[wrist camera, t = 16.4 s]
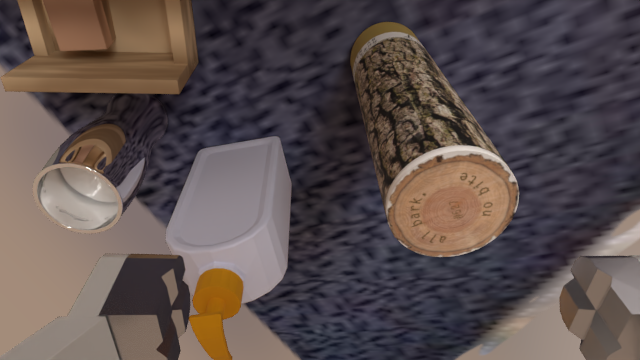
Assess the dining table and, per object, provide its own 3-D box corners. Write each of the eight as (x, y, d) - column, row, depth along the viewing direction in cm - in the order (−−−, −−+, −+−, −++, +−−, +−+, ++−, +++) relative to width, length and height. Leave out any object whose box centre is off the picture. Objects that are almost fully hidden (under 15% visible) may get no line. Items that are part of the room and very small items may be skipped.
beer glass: (133, 70, 45) (66, 143, 33) (186, 121, 48) (144, 206, 36) (89, 112, 47) (9, 195, 35) (142, 157, 50) (87, 249, 38)
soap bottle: (217, 200, 54) (167, 378, 34) (198, 148, 50) (129, 315, 31) (293, 187, 53) (285, 362, 34) (279, 134, 49) (261, 296, 30)
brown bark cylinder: (362, 98, 47) (407, 271, 26) (339, 36, 44) (368, 178, 23) (427, 74, 46) (528, 234, 25) (408, 8, 43) (507, 130, 22)
